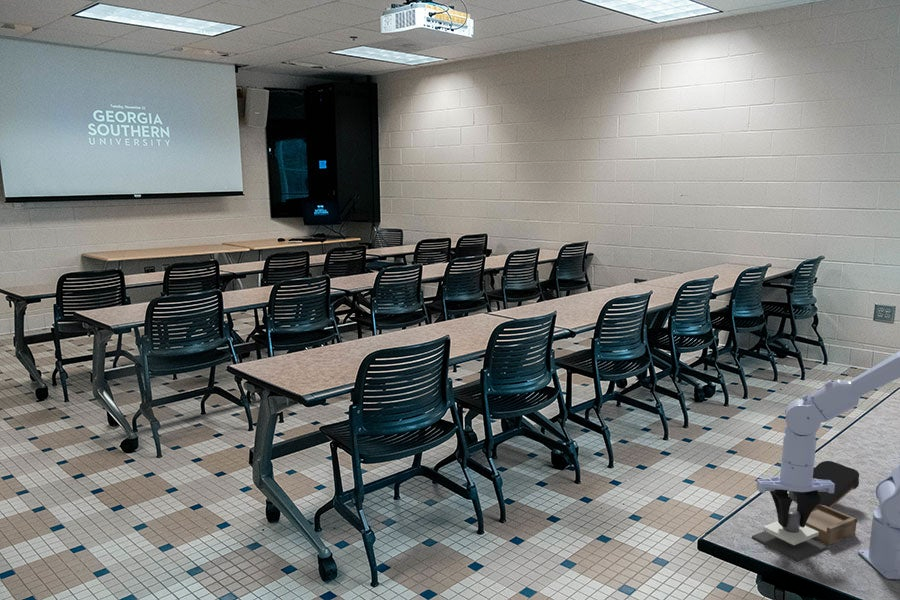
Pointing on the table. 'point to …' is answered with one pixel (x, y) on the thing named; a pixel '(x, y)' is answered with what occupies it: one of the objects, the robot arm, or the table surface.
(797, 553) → the rubber mat
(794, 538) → the cover plate
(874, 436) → the table surface
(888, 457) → the table surface
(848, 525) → the walnut case
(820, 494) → the black sponge
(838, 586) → the table surface
